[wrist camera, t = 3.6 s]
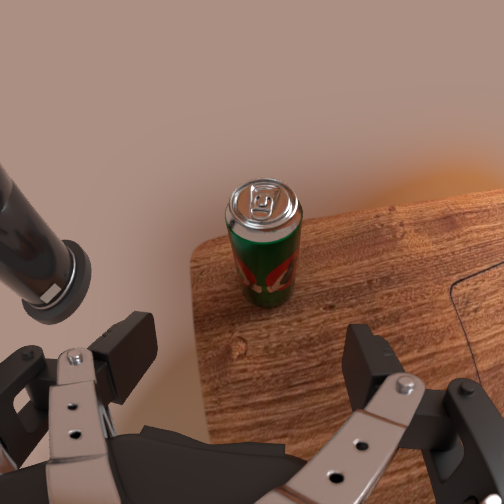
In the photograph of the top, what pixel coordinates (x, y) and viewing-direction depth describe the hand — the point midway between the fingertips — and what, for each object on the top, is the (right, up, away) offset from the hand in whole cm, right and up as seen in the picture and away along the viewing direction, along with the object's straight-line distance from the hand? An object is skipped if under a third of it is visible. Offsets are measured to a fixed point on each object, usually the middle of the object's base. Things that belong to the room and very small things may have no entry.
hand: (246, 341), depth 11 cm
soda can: (+2, 0, +17) cm, 17 cm away
